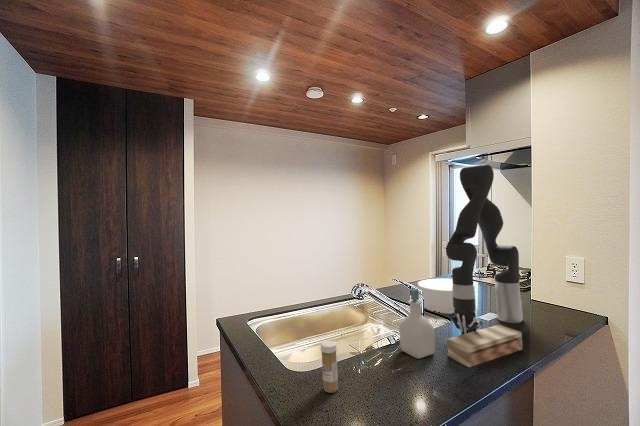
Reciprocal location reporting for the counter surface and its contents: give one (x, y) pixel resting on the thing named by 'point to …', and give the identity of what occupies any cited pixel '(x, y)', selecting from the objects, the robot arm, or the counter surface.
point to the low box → (484, 345)
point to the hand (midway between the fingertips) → (466, 342)
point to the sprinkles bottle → (329, 366)
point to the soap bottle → (416, 331)
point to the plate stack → (438, 295)
